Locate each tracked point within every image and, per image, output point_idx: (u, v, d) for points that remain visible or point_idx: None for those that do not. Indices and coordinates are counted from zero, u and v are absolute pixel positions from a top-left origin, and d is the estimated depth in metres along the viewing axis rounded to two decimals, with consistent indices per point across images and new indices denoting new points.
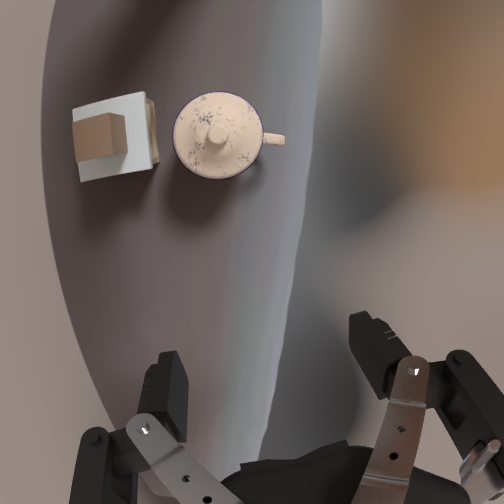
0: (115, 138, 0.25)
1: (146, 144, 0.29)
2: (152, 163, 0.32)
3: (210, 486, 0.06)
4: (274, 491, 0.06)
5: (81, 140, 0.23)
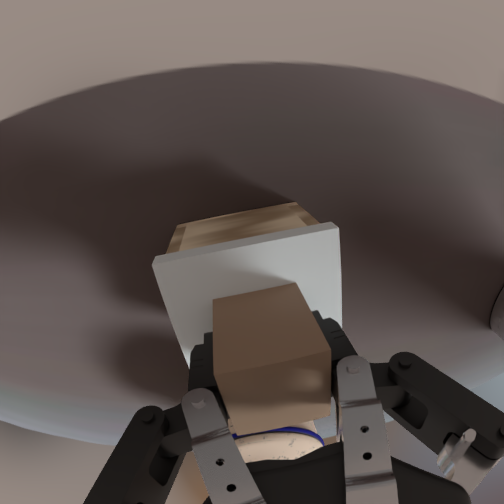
0: None
1: None
2: None
3: (239, 475, 0.06)
4: (274, 491, 0.06)
5: (276, 380, 0.10)
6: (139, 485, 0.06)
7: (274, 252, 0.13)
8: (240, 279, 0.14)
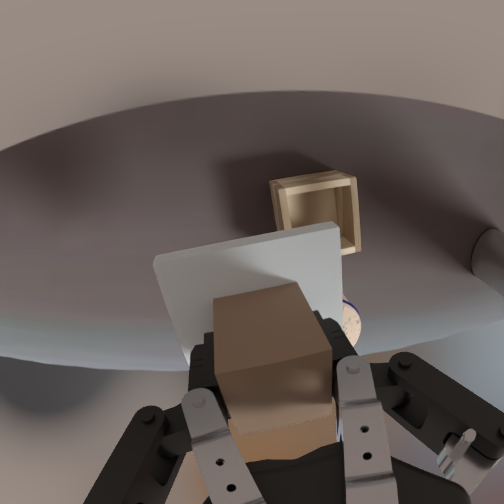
0: None
1: None
2: None
3: (239, 475, 0.06)
4: (274, 491, 0.06)
5: (276, 379, 0.10)
6: (139, 485, 0.06)
7: (275, 251, 0.13)
8: (241, 278, 0.14)
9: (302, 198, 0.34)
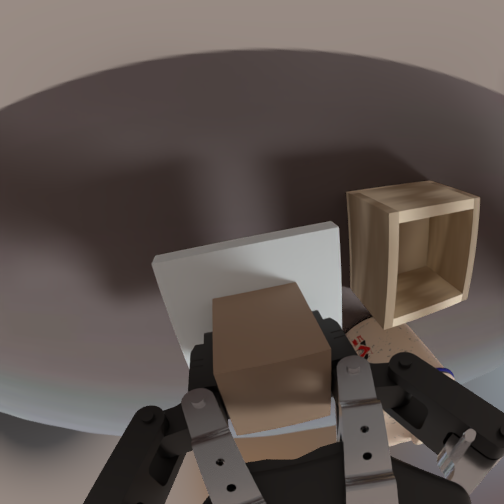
0: None
1: None
2: (375, 317, 0.20)
3: (239, 475, 0.06)
4: (274, 491, 0.06)
5: (276, 379, 0.10)
6: (139, 485, 0.06)
7: (274, 251, 0.13)
8: (240, 278, 0.14)
9: None
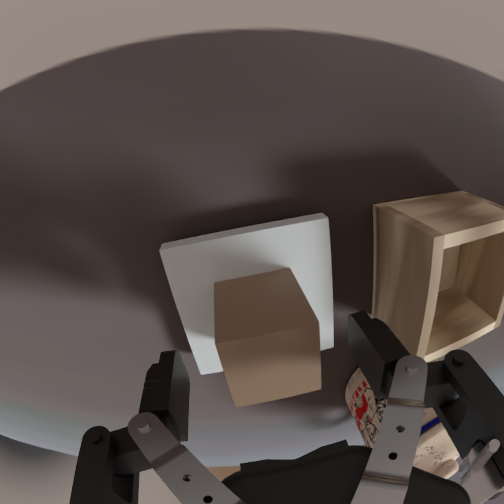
0: None
1: None
2: None
3: (211, 486, 0.06)
4: (274, 491, 0.06)
5: (270, 350, 0.11)
6: None
7: (269, 239, 0.15)
8: (239, 264, 0.15)
9: None
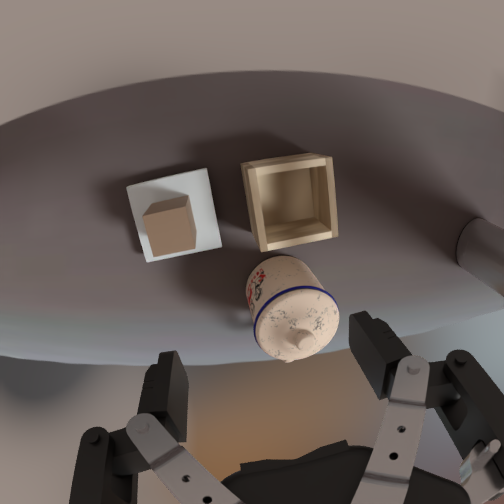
0: None
1: (169, 255, 0.32)
2: (259, 246, 0.30)
3: (210, 486, 0.06)
4: (274, 491, 0.06)
5: (165, 220, 0.26)
6: None
7: (177, 180, 0.29)
8: (163, 193, 0.29)
9: (275, 181, 0.32)
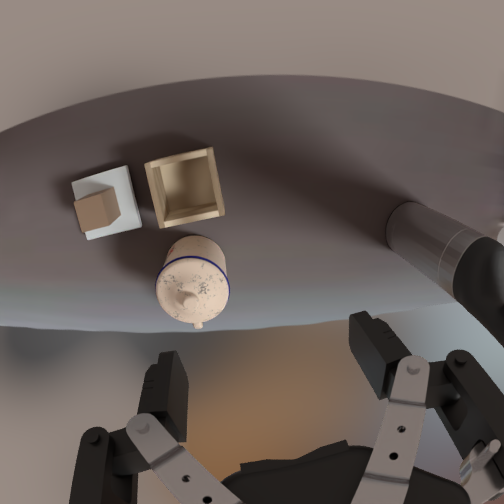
0: None
1: (102, 234, 0.38)
2: None
3: (210, 486, 0.06)
4: (274, 491, 0.06)
5: (88, 204, 0.32)
6: None
7: (105, 175, 0.35)
8: (96, 186, 0.36)
9: (181, 172, 0.38)
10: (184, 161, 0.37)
